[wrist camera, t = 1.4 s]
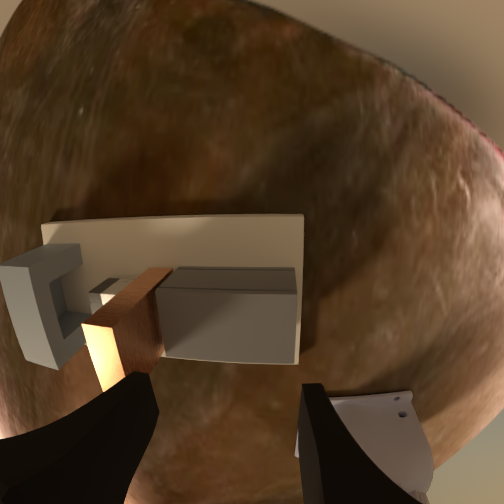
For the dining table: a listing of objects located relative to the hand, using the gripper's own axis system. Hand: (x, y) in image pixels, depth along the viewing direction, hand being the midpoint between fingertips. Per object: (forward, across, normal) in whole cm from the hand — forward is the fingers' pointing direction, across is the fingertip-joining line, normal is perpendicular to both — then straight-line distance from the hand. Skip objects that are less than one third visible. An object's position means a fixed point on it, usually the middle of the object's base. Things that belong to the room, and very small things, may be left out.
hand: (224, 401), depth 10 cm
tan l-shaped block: (+9, +4, 0) cm, 10 cm away
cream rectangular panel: (+10, +6, 0) cm, 12 cm away
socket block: (+10, +14, 0) cm, 17 cm away
